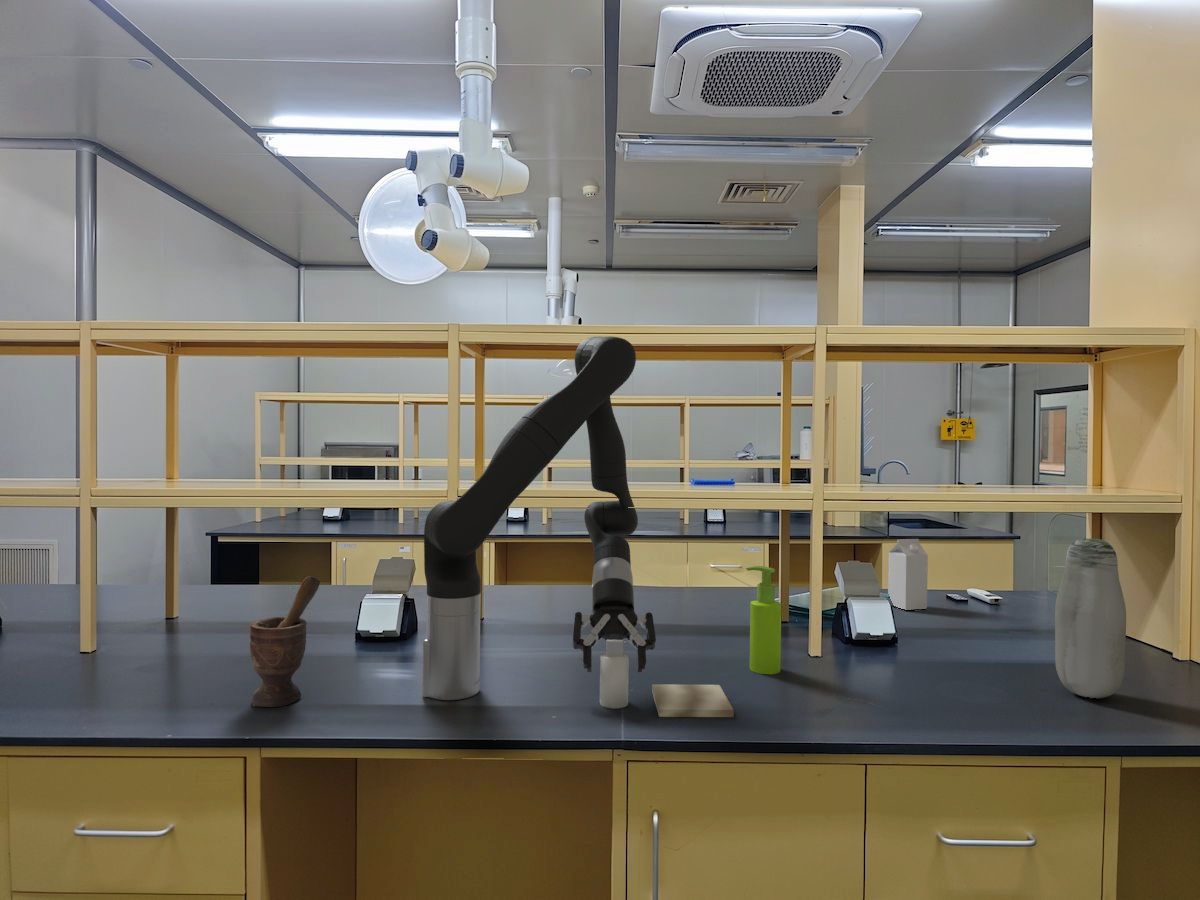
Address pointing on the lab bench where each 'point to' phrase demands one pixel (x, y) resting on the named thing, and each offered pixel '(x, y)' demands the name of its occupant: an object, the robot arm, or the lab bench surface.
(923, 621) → the lab bench surface
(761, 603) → the soap dispenser
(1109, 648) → the grey bottle
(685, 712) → the board
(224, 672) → the lab bench surface
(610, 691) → the white bottle
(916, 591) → the milk carton
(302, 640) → the mortar and pestle
